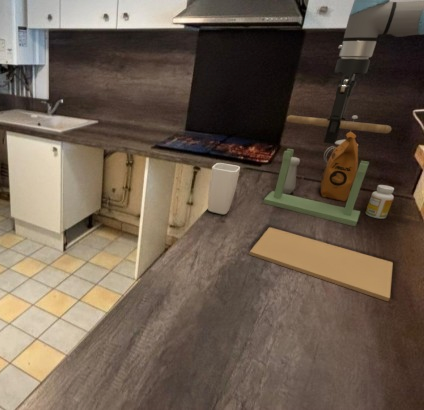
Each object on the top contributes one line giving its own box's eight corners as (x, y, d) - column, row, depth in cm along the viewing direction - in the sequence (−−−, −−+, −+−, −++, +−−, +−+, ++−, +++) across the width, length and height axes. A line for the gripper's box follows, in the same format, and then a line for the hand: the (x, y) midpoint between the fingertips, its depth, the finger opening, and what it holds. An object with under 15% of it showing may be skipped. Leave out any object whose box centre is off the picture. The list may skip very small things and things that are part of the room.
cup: (203, 212, 114) (210, 167, 108) (209, 204, 119) (217, 162, 113) (226, 218, 110) (236, 172, 104) (232, 210, 116) (241, 166, 110)
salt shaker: (277, 187, 135) (285, 154, 130) (294, 190, 133) (303, 157, 127) (275, 192, 131) (284, 158, 125) (293, 195, 128) (302, 161, 123)
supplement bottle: (384, 214, 115) (395, 186, 111) (387, 220, 110) (398, 191, 107) (364, 210, 117) (374, 182, 113) (365, 216, 113) (376, 187, 109)
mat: (391, 265, 87) (392, 262, 86) (388, 302, 74) (390, 298, 74) (268, 230, 103) (269, 227, 103) (248, 254, 91) (249, 251, 90)
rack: (358, 215, 113) (378, 161, 106) (355, 226, 106) (376, 168, 99) (271, 195, 128) (283, 145, 121) (263, 203, 121) (275, 151, 114)
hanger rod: (389, 133, 100) (392, 125, 99) (389, 134, 98) (392, 126, 97) (286, 121, 115) (288, 114, 114) (285, 122, 113) (286, 115, 113)
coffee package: (314, 196, 128) (333, 135, 119) (319, 186, 137) (336, 129, 128) (348, 203, 123) (369, 140, 114) (350, 193, 132) (371, 133, 123)
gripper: (341, 57, 106) (320, 136, 116) (334, 58, 96) (310, 144, 105) (372, 58, 102) (347, 139, 111) (368, 58, 91) (341, 149, 101)
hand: (329, 142), depth 108 cm, fingers closed on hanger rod, 2 cm apart
